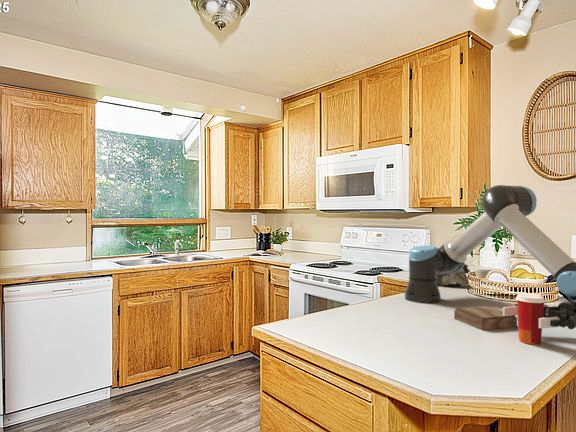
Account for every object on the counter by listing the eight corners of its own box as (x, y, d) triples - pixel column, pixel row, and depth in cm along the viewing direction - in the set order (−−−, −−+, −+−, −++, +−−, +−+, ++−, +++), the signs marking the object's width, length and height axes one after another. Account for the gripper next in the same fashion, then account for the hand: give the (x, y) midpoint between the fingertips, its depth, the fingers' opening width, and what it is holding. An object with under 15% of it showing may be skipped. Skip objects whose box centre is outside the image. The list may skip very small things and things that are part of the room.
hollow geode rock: (414, 291, 215) (412, 274, 206) (415, 273, 224) (413, 255, 214) (471, 294, 205) (472, 276, 195) (470, 274, 213) (470, 256, 204)
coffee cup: (492, 291, 194) (492, 267, 194) (500, 295, 184) (500, 270, 184) (472, 291, 195) (472, 266, 194) (479, 295, 185) (479, 269, 185)
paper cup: (542, 339, 122) (543, 294, 121) (546, 347, 115) (547, 299, 114) (513, 336, 125) (514, 292, 125) (515, 343, 118) (516, 296, 118)
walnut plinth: (482, 330, 131) (482, 318, 131) (454, 318, 145) (454, 307, 145) (516, 327, 135) (517, 315, 134) (486, 316, 148) (486, 305, 148)
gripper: (618, 337, 112) (557, 343, 107) (542, 314, 136) (490, 318, 131) (618, 310, 112) (558, 315, 107) (542, 292, 136) (490, 295, 131)
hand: (520, 317), depth 119 cm, fingers open, 12 cm apart
